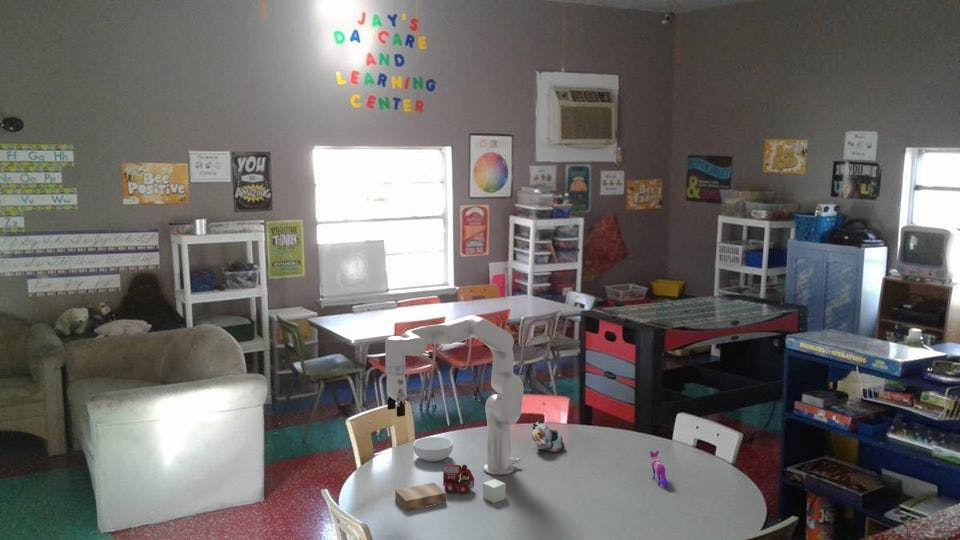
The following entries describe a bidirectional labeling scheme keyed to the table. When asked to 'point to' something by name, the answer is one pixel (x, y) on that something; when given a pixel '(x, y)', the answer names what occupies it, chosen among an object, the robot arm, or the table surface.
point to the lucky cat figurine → (547, 438)
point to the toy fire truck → (457, 478)
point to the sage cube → (494, 490)
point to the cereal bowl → (433, 448)
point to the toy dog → (658, 468)
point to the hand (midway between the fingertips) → (396, 412)
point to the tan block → (420, 496)
